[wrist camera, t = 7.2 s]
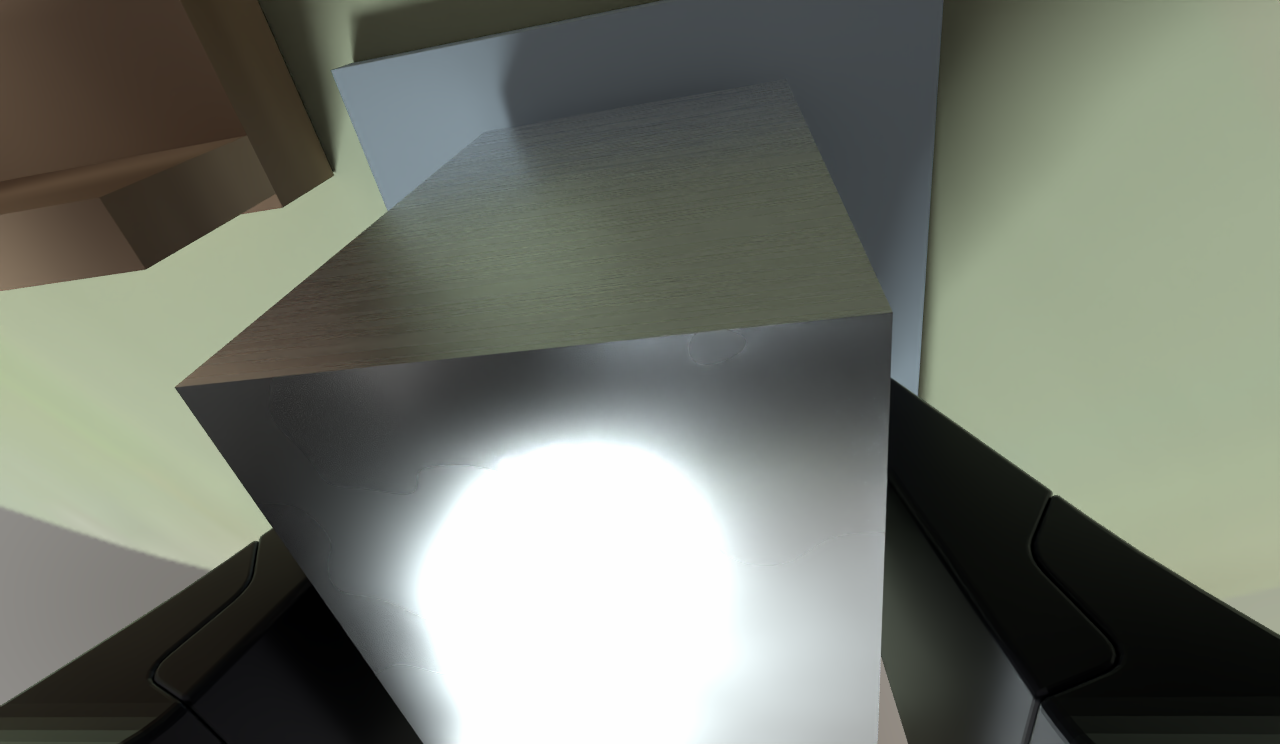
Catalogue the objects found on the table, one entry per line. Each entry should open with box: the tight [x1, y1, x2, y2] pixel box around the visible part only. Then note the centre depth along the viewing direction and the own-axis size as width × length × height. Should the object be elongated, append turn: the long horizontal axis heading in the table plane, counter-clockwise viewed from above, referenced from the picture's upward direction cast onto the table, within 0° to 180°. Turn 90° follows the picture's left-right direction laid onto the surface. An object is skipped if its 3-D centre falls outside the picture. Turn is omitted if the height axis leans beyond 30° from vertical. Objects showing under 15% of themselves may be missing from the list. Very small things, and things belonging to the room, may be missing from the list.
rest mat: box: [331, 0, 943, 396], centre depth 11 cm, size 8×9×1 cm
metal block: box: [175, 79, 893, 744], centre depth 8 cm, size 4×7×6 cm, turn 10°
